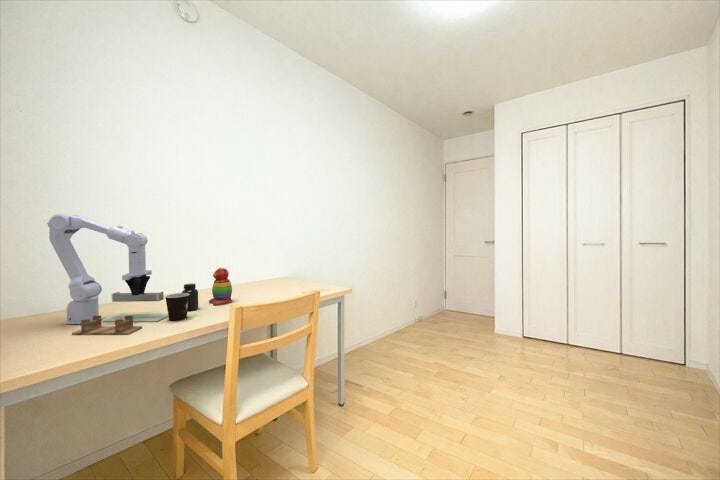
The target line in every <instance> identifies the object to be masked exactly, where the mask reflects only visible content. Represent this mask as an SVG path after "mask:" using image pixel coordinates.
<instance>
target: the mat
mask: <svg viewBox="0 0 720 480" xmlns="http://www.w3.org/2000/svg"><path fill="white" fill-rule="evenodd" d="M126 315H133V323H158V322H161V321H163V320H165V319H167V318H169V316H168V313H120V314H117V315H115V316H112V317H109V318H105V319H102V323H115V320H116V319H123V320H125V316H126Z"/></svg>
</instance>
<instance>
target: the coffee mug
mask: <svg viewBox="0 0 720 480" xmlns="http://www.w3.org/2000/svg"><path fill="white" fill-rule="evenodd" d="M188 301H189V294H188V293H182V292H181V293H179V292H178V293H171V294H167V295H165V303H166V304H165V305H166V309H167V314H168V316H169V317H168V321H170V322H178V321H183V320H186V319H187V318H188V317H187V316H188V311H187V310H188Z"/></svg>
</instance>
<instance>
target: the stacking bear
mask: <svg viewBox="0 0 720 480" xmlns="http://www.w3.org/2000/svg"><path fill="white" fill-rule="evenodd" d="M229 272H230V271H228V269H227V268H224V267H223V268H222V267H219V268H217V269H216V270H215V271H214V273H213V274H212V277H213V278H214V279H215V280H213V283H212V288H211V290H212V291H211V294H212V297H213V298H210V299H209V300H208V303H209V304H212V305H213V307H214V306H215V307H217V306H224V305H228V304H230V303H232V302H233V300H232V295H233V294H232V293H233V286H232V283H231V280H230V279H229V274H230V273H229Z"/></svg>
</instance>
